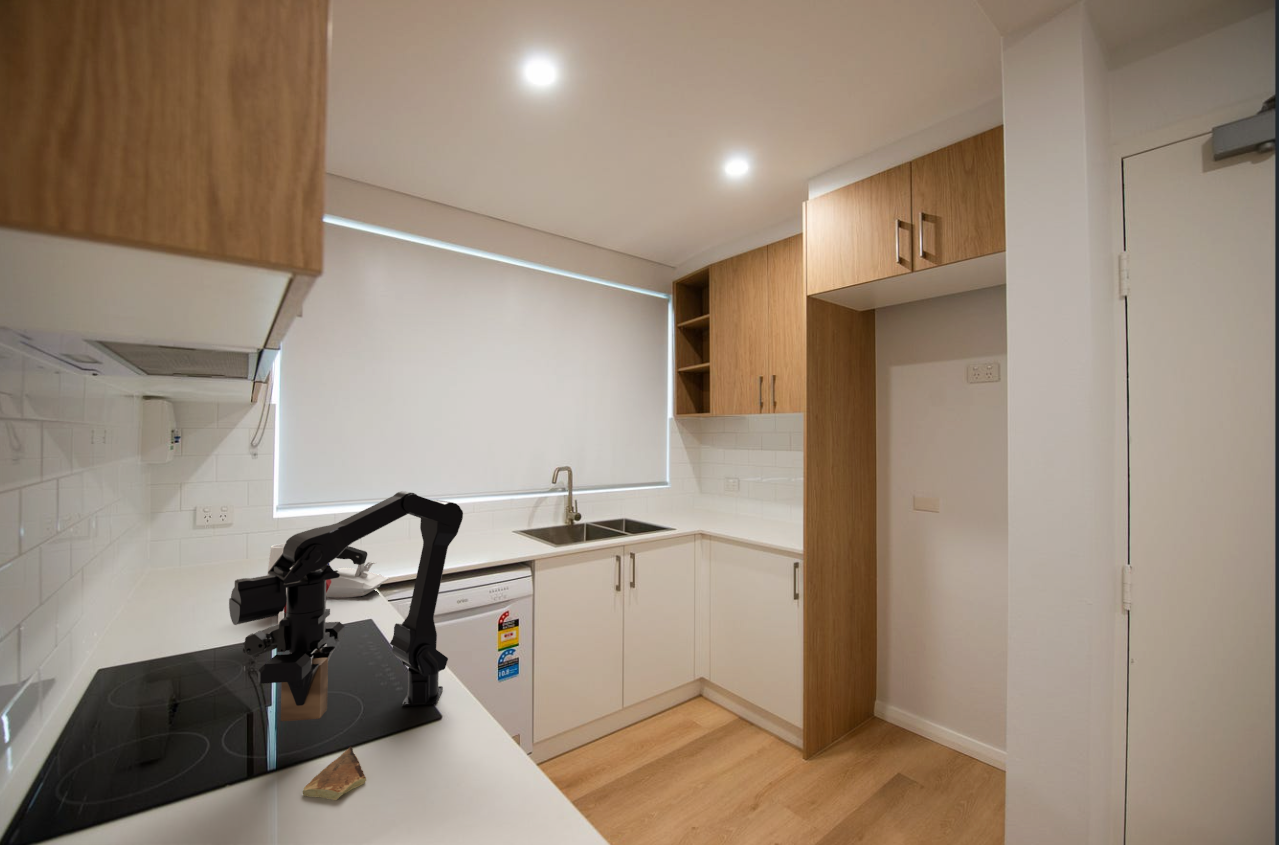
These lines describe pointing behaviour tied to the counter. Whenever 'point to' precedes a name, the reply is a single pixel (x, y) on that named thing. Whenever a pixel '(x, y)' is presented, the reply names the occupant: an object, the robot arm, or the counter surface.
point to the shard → (337, 777)
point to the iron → (354, 576)
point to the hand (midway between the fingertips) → (304, 700)
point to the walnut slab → (315, 698)
